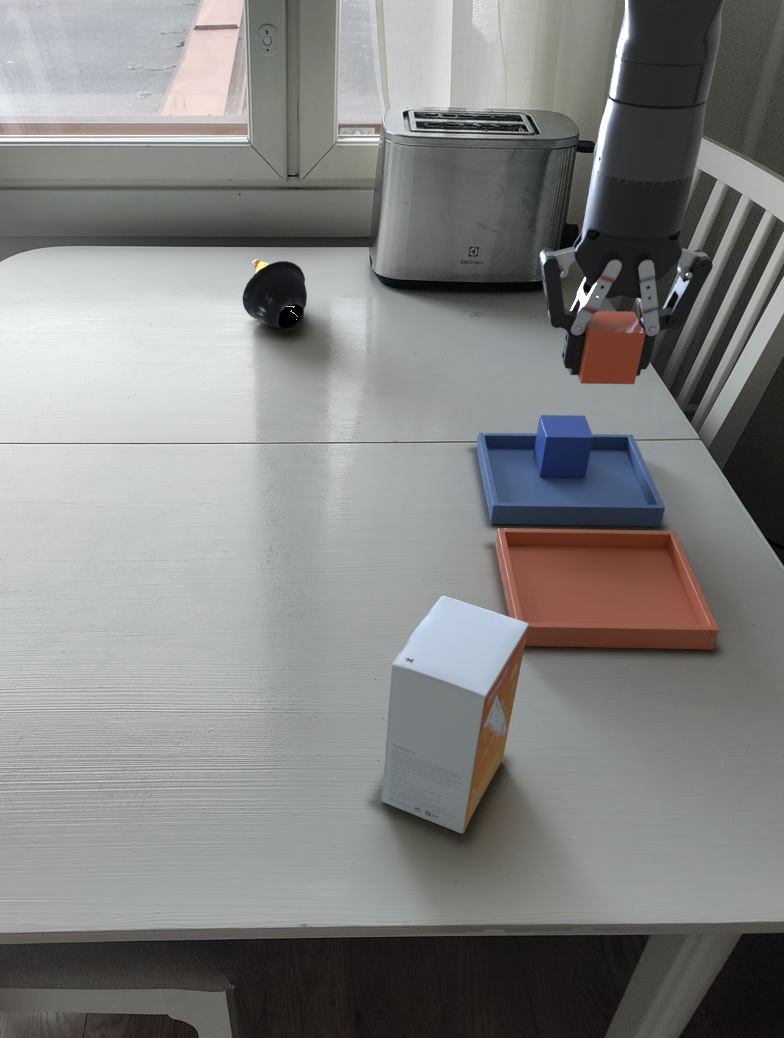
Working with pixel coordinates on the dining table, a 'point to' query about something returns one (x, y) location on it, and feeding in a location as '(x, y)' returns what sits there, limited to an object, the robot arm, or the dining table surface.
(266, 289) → the fried shrimp in bowl
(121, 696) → the dining table surface
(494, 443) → the blue tray
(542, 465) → the blue block
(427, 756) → the small box
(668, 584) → the clay tray
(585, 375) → the clay block
